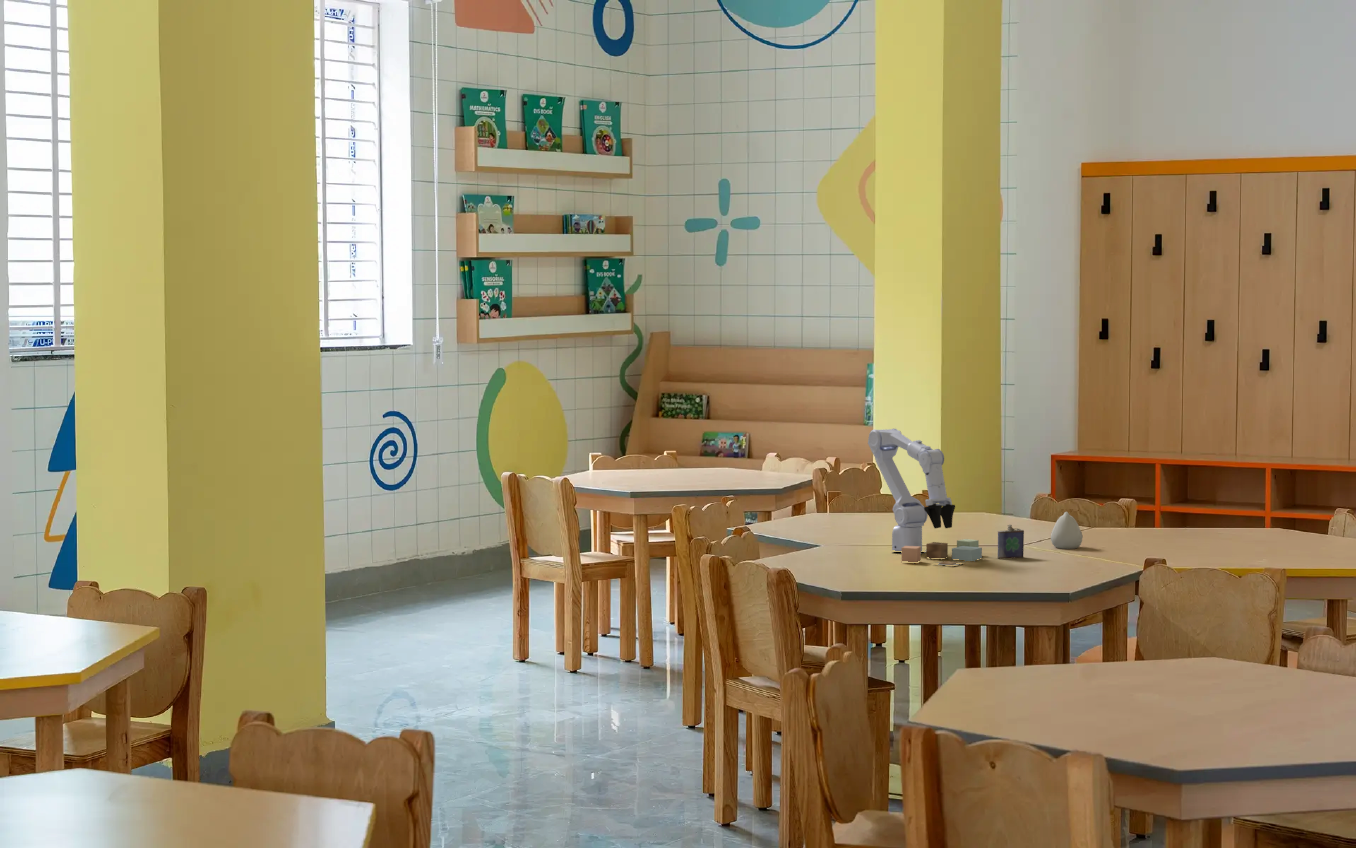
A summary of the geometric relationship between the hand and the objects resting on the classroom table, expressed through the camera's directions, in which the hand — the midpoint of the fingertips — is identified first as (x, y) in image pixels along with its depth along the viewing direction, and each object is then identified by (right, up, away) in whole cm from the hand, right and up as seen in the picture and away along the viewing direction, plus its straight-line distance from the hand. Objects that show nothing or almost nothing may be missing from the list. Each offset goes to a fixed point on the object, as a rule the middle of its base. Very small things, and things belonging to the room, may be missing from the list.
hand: (943, 528), depth 465 cm
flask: (+22, -10, +1) cm, 24 cm away
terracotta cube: (-11, -11, -6) cm, 17 cm away
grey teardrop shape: (+46, -9, +23) cm, 52 cm away
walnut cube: (-2, -10, +1) cm, 10 cm away
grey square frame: (-1, -11, -12) cm, 16 cm away
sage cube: (+9, -10, +8) cm, 16 cm away
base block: (+7, -10, -2) cm, 13 cm away
